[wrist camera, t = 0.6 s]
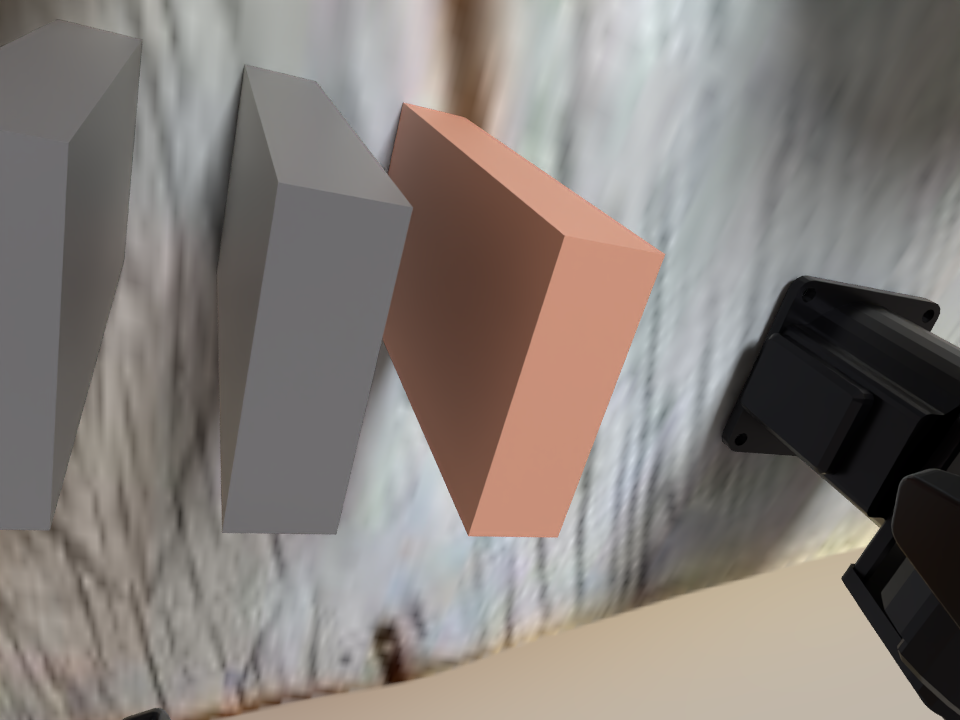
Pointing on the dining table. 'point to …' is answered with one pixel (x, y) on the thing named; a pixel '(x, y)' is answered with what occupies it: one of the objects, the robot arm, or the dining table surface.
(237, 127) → the domino
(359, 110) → the dining table surface
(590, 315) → the domino
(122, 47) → the domino
